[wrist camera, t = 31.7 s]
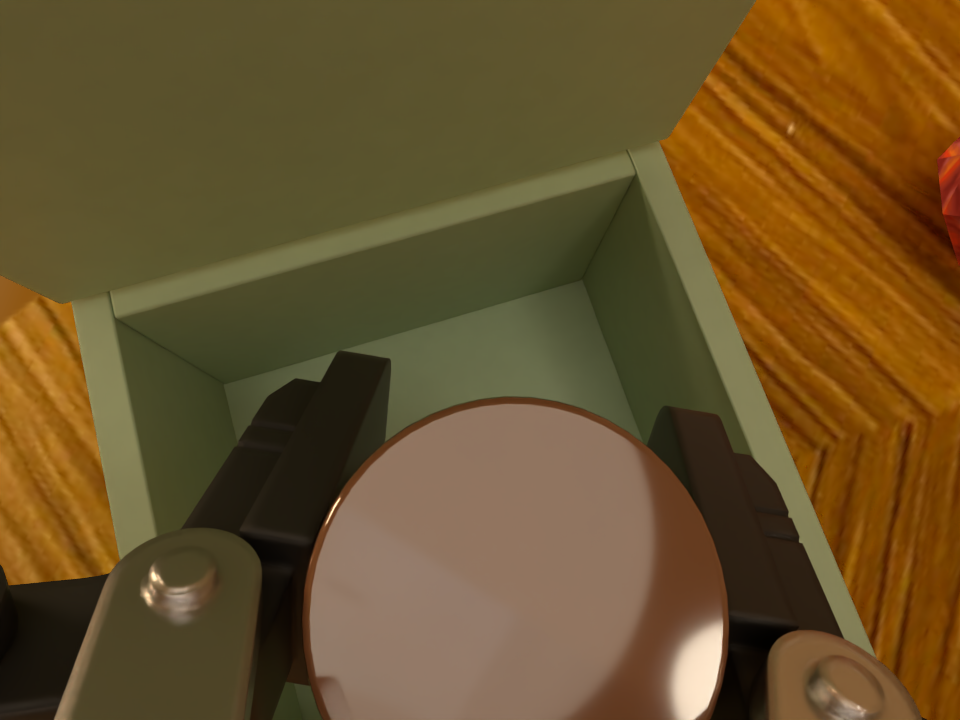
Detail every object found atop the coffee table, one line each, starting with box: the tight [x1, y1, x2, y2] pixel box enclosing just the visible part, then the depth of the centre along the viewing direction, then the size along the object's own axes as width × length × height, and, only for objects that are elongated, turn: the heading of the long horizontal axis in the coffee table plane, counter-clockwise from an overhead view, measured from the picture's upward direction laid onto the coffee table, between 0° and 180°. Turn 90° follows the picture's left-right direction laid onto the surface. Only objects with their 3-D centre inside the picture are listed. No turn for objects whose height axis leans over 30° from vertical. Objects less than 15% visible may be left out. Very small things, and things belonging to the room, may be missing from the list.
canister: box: [301, 396, 729, 720], centre depth 11 cm, size 4×4×10 cm
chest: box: [71, 141, 877, 720], centre depth 17 cm, size 14×14×8 cm
